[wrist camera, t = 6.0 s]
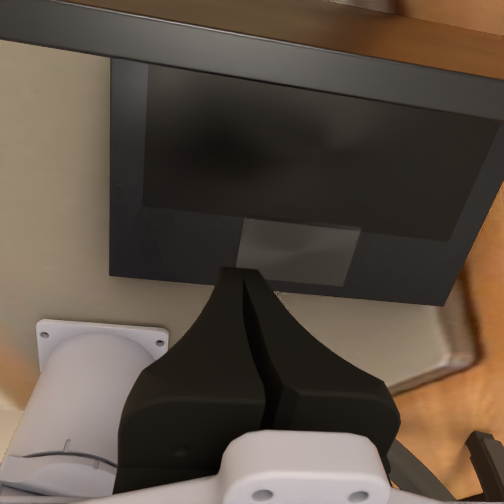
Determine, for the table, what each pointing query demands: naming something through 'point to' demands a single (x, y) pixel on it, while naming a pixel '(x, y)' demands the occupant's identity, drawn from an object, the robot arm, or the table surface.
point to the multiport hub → (475, 498)
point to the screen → (281, 46)
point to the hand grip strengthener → (426, 484)
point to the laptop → (293, 186)
